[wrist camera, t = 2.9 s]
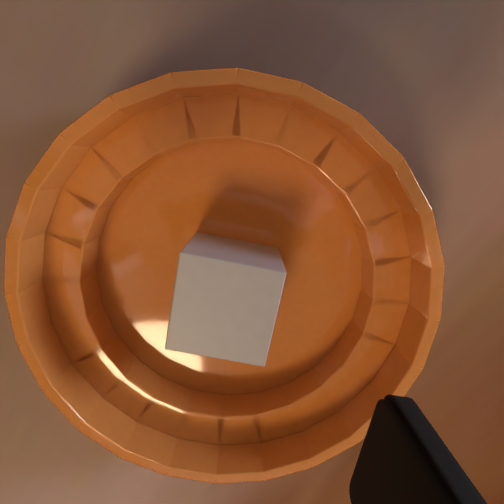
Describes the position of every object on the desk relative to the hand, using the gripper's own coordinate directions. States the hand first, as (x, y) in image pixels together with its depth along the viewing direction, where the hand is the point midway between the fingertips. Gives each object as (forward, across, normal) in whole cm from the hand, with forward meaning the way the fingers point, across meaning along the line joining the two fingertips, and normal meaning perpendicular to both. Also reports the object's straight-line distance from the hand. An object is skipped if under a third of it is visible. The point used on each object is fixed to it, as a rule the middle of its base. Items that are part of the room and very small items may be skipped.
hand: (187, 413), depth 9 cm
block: (+11, -1, 0) cm, 11 cm away
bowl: (+12, -1, 0) cm, 12 cm away
